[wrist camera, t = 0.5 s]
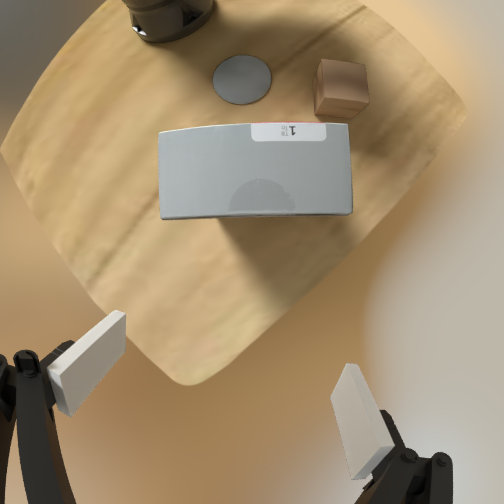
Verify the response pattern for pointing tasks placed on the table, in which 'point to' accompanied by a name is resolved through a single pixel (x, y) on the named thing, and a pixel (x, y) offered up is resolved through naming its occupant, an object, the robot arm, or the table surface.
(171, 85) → the table surface
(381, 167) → the table surface
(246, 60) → the slate coaster
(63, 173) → the table surface
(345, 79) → the walnut block
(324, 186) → the hard drive box
